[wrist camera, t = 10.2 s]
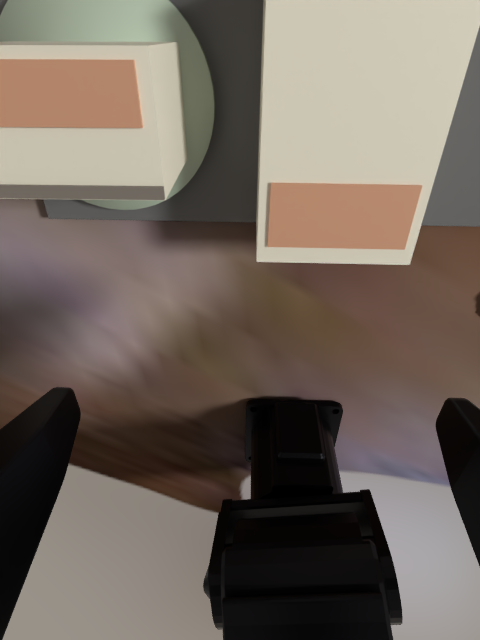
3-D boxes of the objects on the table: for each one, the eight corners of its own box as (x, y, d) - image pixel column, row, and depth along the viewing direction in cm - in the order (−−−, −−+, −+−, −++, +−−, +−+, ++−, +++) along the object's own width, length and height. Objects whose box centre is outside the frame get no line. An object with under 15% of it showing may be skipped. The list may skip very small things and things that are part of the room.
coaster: (218, 205, 18) (216, 211, 18) (39, 202, 19) (32, 208, 18) (211, -37, 13) (209, -40, 13) (-32, -38, 14) (-47, -42, 13)
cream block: (187, 159, 16) (164, 201, 12) (44, 157, 17) (-25, 199, 12) (178, 42, 14) (147, 45, 10) (12, 41, 14) (-86, 45, 10)
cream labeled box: (382, 224, 19) (410, 266, 15) (256, 222, 19) (256, 263, 15) (441, -28, 13) (502, -48, 10) (264, -29, 13) (267, -48, 10)
